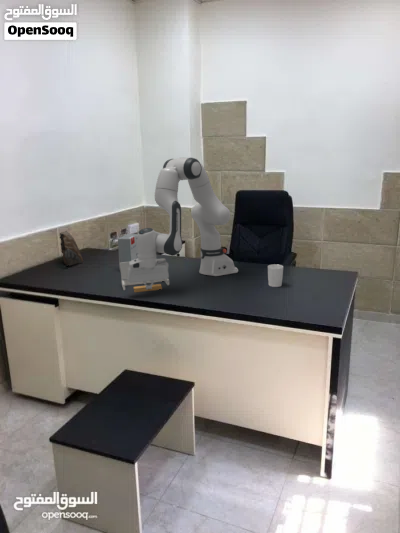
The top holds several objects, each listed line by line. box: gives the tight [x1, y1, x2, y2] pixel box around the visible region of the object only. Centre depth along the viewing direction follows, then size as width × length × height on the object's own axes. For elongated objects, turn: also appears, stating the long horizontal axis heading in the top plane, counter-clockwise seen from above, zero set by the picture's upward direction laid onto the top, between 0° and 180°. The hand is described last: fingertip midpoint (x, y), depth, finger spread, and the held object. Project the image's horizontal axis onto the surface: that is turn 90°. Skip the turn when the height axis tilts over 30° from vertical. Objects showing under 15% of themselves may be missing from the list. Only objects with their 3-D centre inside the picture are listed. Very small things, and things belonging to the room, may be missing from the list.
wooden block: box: [133, 283, 163, 293], centre depth 214 cm, size 14×3×2 cm, turn 105°
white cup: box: [267, 263, 284, 288], centre depth 215 cm, size 8×8×10 cm
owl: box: [59, 230, 84, 266], centre depth 268 cm, size 13×13×20 cm
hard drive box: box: [117, 233, 139, 272], centre depth 251 cm, size 16×8×20 cm, turn 168°
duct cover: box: [119, 258, 166, 281], centre depth 223 cm, size 24×9×1 cm
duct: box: [121, 278, 170, 291], centre depth 221 cm, size 24×8×3 cm, turn 105°
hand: (148, 289), depth 207 cm, fingers closed
